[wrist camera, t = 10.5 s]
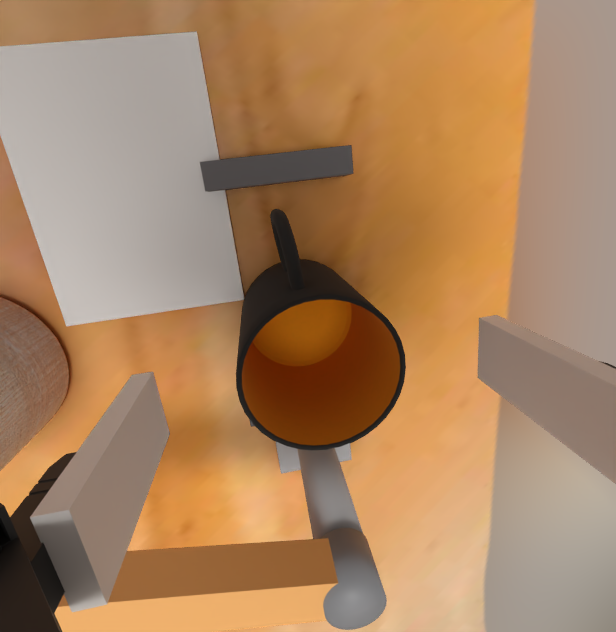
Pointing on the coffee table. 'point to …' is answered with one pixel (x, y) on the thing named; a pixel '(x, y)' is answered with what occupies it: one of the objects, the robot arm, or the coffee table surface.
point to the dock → (316, 465)
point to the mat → (119, 173)
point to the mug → (314, 354)
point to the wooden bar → (239, 588)
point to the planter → (27, 377)
